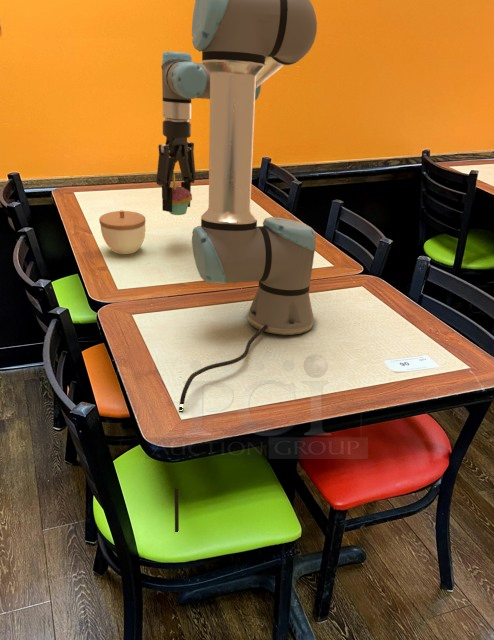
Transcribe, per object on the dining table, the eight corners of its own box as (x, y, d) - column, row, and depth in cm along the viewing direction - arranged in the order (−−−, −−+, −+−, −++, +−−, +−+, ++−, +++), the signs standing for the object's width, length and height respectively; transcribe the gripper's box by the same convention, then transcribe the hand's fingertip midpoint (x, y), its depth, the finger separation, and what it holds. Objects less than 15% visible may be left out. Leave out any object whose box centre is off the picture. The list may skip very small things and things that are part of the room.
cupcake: (187, 218, 158) (185, 173, 151) (158, 215, 160) (155, 170, 153) (196, 209, 165) (195, 166, 158) (168, 206, 167) (165, 163, 159)
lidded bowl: (152, 243, 168) (149, 205, 162) (140, 259, 158) (137, 220, 152) (110, 240, 169) (106, 202, 162) (96, 255, 159) (91, 216, 152)
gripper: (186, 117, 160) (186, 201, 171) (140, 119, 143) (143, 212, 155) (209, 120, 157) (207, 205, 169) (165, 123, 140) (166, 216, 152)
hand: (176, 208), depth 162 cm, fingers closed on cupcake, 9 cm apart
